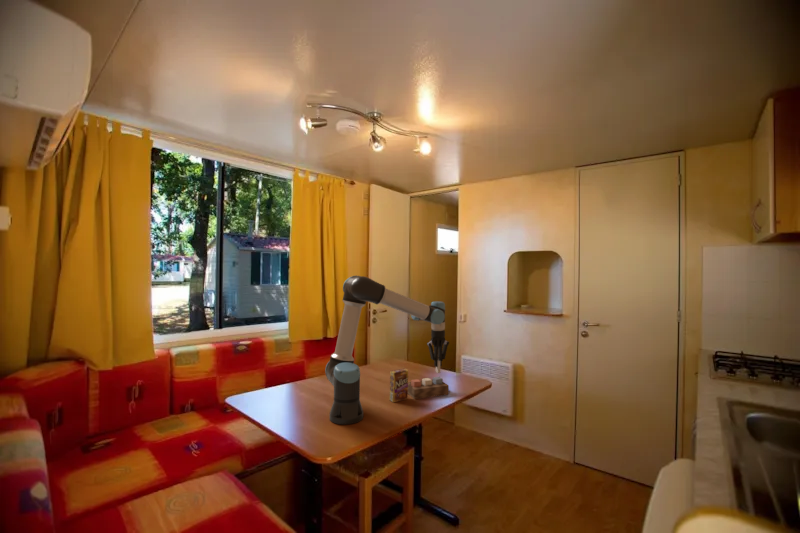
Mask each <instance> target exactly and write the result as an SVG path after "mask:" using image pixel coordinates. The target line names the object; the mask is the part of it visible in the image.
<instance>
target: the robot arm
mask: <svg viewBox="0 0 800 533" xmlns="http://www.w3.org/2000/svg"><path fill="white" fill-rule="evenodd" d="M342 291H343V296H342V302H343V304H344V306H343V312H342V316H341V320H340V325H339V330H338V335H337V340H336V345H335V350H334V352H333V353H331V355H330V356H329V357H330V358H329V361H328V362H327V363H326V365H325V370H324V372H325V375H326V379H327V380H328V382H329V383H331V385H332V386H333V402H332V405H331V408H330V411H329V421H330V422H331V423H334V424H336V425H353V424H356V423H359V422H360V421H362V420H363V418H364V409H363V406H362V403H361V400H360V397H361V396H360V395H361V394H360V393H361V392H360V390H361V370H360V366H359V365H357V364H356V363H354V362H355V358H354V357H353V352H354V347H355V342H356V338H357V333H358V328H359V322H360V317H361V313H362V308H363V307H365V306H366V305H367V302H368V303H372V304H375V305H383V306H386V307H387V308H388V307H389V308H391V309H394V310H396V311H400V312H402V313H404V314H407V315H410V316H411V319H412V320H413V321H418V322H419V321H424V322H426V323H430V324H431V325H430V328H431V332H430V333H431V338H430V340H429V342H426V345H427V347H428V351H429V354H430V359H431V360H432V361H434V362H433V363H434V367H435V372H436V373H437V374H440V373H441V367H442V365H443V364H442V362H443V360H445V359H446V355H447V352H448V351H447V350H448V346H449V345H450V342H449V341H447V340H446V337H445V336H446V330H445V329H446V304H445V302H444V301H440V300H439V301H437V300H435V301H432V302H431V303H430V305H428V304H425V303H423V302H421V301H417V300H415V299H413V298H411V297H408V296H406V295H403V294H401V293H398V292H395V291H393V290H390V289H388V288H386V285H384V284H381V283H380V282H377V281H375V280H373V279H372V278H370V277H368V276H361V275H351V276H350V277H348V278H347V279H346V280H345V281H344V282H343V286H342Z"/></svg>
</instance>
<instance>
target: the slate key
mask: <svg viewBox="0 0 800 533" xmlns="http://www.w3.org/2000/svg"><path fill="white" fill-rule="evenodd" d="M432 379H433V383H434V384H443V382H444V380H443V378H442V377H440V376H434V377H432Z"/></svg>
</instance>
